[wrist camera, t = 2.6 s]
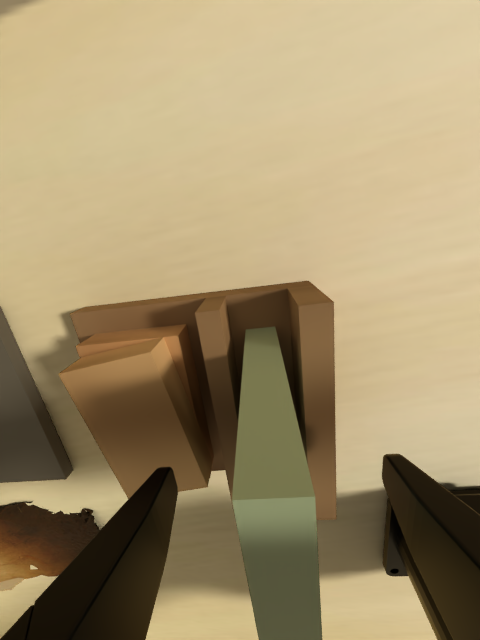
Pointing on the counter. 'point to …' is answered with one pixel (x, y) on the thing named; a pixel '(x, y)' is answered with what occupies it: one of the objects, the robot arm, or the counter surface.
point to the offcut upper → (140, 414)
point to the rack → (227, 362)
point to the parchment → (40, 541)
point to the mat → (25, 421)
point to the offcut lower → (179, 352)
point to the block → (275, 498)
